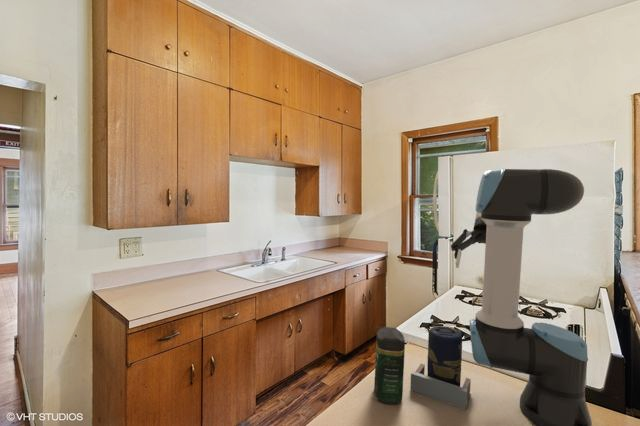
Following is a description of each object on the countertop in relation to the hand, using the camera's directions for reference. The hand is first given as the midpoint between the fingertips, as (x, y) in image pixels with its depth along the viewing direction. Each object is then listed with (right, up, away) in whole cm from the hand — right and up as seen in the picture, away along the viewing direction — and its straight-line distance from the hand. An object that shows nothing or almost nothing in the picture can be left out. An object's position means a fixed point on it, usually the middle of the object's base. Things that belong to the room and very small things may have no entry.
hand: (477, 268), depth 110 cm
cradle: (-19, -33, -16) cm, 41 cm away
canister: (-18, -33, -14) cm, 40 cm away
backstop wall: (-22, -33, -20) cm, 45 cm away
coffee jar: (-35, -33, -19) cm, 52 cm away
